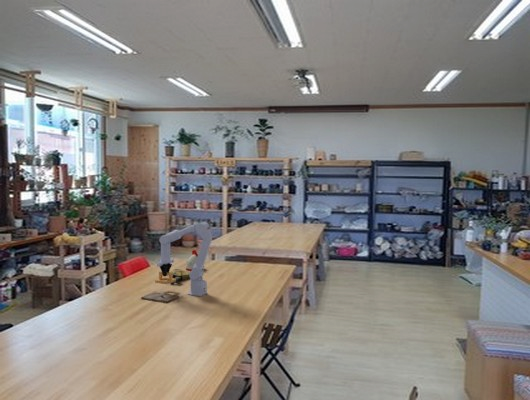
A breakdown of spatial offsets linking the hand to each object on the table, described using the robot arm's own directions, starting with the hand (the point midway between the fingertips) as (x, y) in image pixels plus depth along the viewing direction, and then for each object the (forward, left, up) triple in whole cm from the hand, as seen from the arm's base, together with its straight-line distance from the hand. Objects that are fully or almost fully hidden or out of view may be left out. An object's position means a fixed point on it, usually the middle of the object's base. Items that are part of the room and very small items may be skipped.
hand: (165, 275), depth 250 cm
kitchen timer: (+17, -61, -10) cm, 64 cm away
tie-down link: (0, 0, -4) cm, 4 cm away
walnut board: (-6, +13, -10) cm, 17 cm away
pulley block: (+10, -29, -10) cm, 32 cm away
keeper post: (-7, +13, -10) cm, 18 cm away
